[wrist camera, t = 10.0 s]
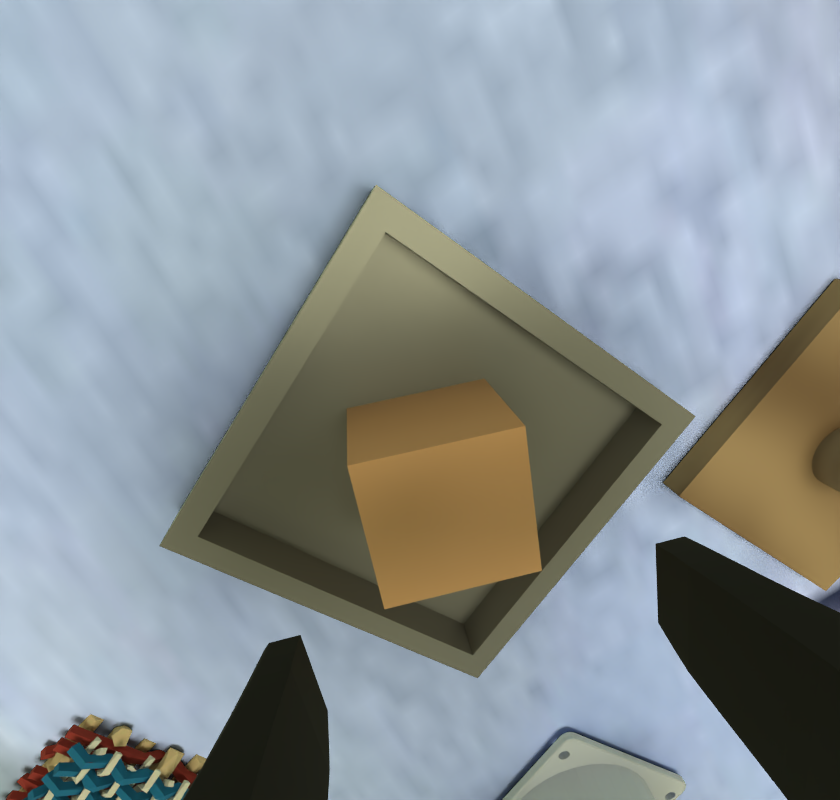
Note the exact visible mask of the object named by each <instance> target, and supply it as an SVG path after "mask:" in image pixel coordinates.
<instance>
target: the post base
mask: <svg viewBox="0 0 840 800" xmlns="http://www.w3.org/2000/svg"><path fill="white" fill-rule="evenodd" d="M663 483H664V484H665V485H666V486H667V487H669V488H670V489H671V490H672V491H673V492H675V493H676V494H677V495H678V496H680V497H681V498H683V499H684V500H686V501H687V502H689V503H690V504H692V505H693V506H695V507H697V508H698V509H700V510H701V511H703V512H704V513H706V514H707V515H709V516H711V517H712V518H714V519H715V520H717V521H718V522H720V523H721V524H723V525H724V526H726V527H728V528H729V529H731V530H732V531H734V532H735V533H737V534H738V535H740V536H742V537H743V538H745V539H746V540H748V541H749V542H751V543H752V544H754V545H755V546H757V547H759V548H760V549H762V550H763V551H765V552H766V553H768V554H769V555H771V556H772V557H774V558H776V559H777V560H779V561H780V562H782V563H783V564H785V565H786V566H788V567H790V568H791V569H793V570H794V571H796V572H797V573H799V574H800V575H802V576H803V577H805V578H807V579H808V580H810V581H811V582H813V583H814V584H816V585H817V586H819V587H821V588H822V589H824V590H825V591H826V590H827V589H828V588H829V587H830V586H831V585H832V584H833V583H834V582H835V581H836V580H837V579H838V578H839V577H840V279H835V280H834V281H833V282H832V283H831V284H830V286H829V287H828V288H827V289H826V290H825V291H824V293H823V294H822V295H821V296H820V297H819V299H818V300H817V301H816V302H815V303H814V304H813V306H812V307H811V308H810V309H809V310H808V312H807V313H806V314H805V315H804V316H803V317H802V319H801V320H800V321H799V322H798V323H797V325H796V326H795V327H794V328H793V329H792V331H791V332H790V333H789V334H788V335H787V336H786V338H785V339H784V340H783V341H782V342H781V344H780V345H779V346H778V347H777V348H776V349H775V351H774V352H773V353H772V354H771V355H770V357H769V358H768V359H767V360H766V361H765V362H764V364H763V365H762V366H761V367H760V368H759V370H758V371H757V372H756V373H755V374H754V376H753V377H752V378H751V379H750V380H749V381H748V383H747V384H746V385H745V386H744V387H743V389H742V390H741V391H740V392H739V393H738V394H737V396H736V397H735V398H734V399H733V400H732V402H731V403H730V404H729V405H728V406H727V407H726V409H725V410H724V411H723V412H722V413H721V415H720V416H719V417H718V418H717V419H716V421H715V422H714V423H713V424H712V425H711V426H710V428H709V429H708V430H707V431H706V432H705V434H704V435H703V436H702V437H701V438H700V439H699V441H698V442H697V443H696V444H695V445H694V447H693V448H692V449H691V450H690V451H689V452H688V454H687V455H686V456H685V457H684V458H683V460H682V461H681V462H680V463H679V464H678V466H677V467H676V468H675V469H674V470H673V471H672V473H671V474H670V475H669V476H668V477H667V479H666V480H665V481H664V482H663Z"/></svg>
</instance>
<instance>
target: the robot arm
mask: <svg viewBox="0 0 840 800" xmlns="http://www.w3.org/2000/svg"><path fill="white" fill-rule="evenodd" d="M656 569H657V599H658V623H659V625H660V626H661V628H662V630H663V631H664V633H665V635H666V636H667V638H668V640H669V641H670V643H671V645H672V646H673V648H674V650H675V651H676V653H677V654H678V656H679V658H680V659H681V661H682V662H683V664H684V665H685V667H686V669H687V670H688V672H689V673H690V674H691V676H692V677H693V678H694V680H695V681H696V682H697V684H698V685H699V686H700V688H701V689H702V690H703V691H704V693H705V694H706V695H707V697H708V698H709V699H710V701H711V702H712V703H713V704H714V706H715V707H716V708H717V710H718V711H719V712H720V713H721V715H722V716H723V717H724V719H725V720H726V721H727V722H728V724H729V725H730V726H731V728H732V729H733V730H734V731H735V733H736V734H737V735H738V736H739V738H740V739H741V740H742V742H743V743H744V744H745V745H746V747H747V748H748V749H749V751H750V752H751V753H752V754H753V756H754V757H755V758H756V759H757V761H758V762H759V763H760V765H761V766H762V767H763V768H764V770H765V771H766V772H767V774H768V775H769V776H770V777H771V779H772V780H773V781H774V782H775V784H776V785H777V786H778V788H779V789H780V790H781V792H782V793H783V794H784V796H785V797H786V798H787V800H840V613H839V612H837V611H835V610H833V609H831V608H829V607H826V606H824V605H822V604H820V603H818V602H816V601H814V600H811V599H809V598H807V597H805V596H803V595H801V594H799V593H797V592H795V591H793V590H791V589H789V588H787V587H785V586H783V585H780V584H778V583H776V582H774V581H772V580H770V579H768V578H766V577H764V576H762V575H760V574H758V573H756V572H755V571H753V570H751V569H749V568H747V567H745V566H743V565H741V564H739V563H737V562H735V561H733V560H731V559H729V558H727V557H725V556H723V555H721V554H719V553H717V552H715V551H713V550H711V549H709V548H707V547H705V546H703V545H701V544H699V543H697V542H695V541H693V540H691V539H689V538H687V537H681V538H677V539H673V540H669V541H665V542H661V543H657V544H656ZM328 787H329V734H328V711H327V708H326V705H325V702H324V699H323V697H322V694H321V691H320V688H319V685H318V683H317V680H316V677H315V674H314V672H313V669H312V666H311V663H310V660H309V658H308V655H307V652H306V649H305V647H304V644H303V641H302V638H301V635H299V636H295V637H291V638H287V639H283V640H279V641H275V642H271V643H269V644H268V645H267V647H266V648H265V650H264V652H263V654H262V656H261V658H260V660H259V662H258V664H257V666H256V668H255V670H254V672H253V673H252V675H251V677H250V679H249V681H248V683H247V685H246V687H245V689H244V691H243V693H242V695H241V697H240V699H239V701H238V703H237V704H236V706H235V708H234V710H233V712H232V714H231V716H230V718H229V720H228V721H227V723H226V725H225V727H224V729H223V730H222V732H221V734H220V736H219V738H218V739H217V741H216V743H215V745H214V747H213V748H212V750H211V752H210V754H209V756H208V758H207V759H206V761H205V763H204V765H203V766H202V768H201V770H200V771H199V773H198V775H197V776H196V778H195V780H194V781H193V783H192V785H191V786H190V788H189V790H188V791H187V793H186V795H185V796H184V798H183V800H328ZM685 788H686V784H685V782H684V780H683V778H682V777H681V776H680V775H678V774H675V773H673V772H670V771H668V770H665V769H663V768H660V767H658V766H655V765H653V764H650V763H648V762H645V761H643V760H641V759H638V758H636V757H633V756H631V755H628V754H626V753H623V752H621V751H618V750H616V749H613V748H611V747H608V746H606V745H603V744H601V743H598V742H596V741H594V740H591V739H589V738H586V737H584V736H581V735H579V734H576V733H573V732H566V733H564V734H562V735H561V736H560V737H559V738H558V739H557V740H556V741H555V742H554V743H553V745H552V746H551V747H550V748H549V749H548V750H547V751H546V752H545V753H544V754H543V755H542V757H541V758H540V759H539V760H538V761H537V762H536V763H535V764H534V765H533V766H532V768H531V769H530V770H529V771H528V772H527V773H526V774H525V775H524V776H523V777H522V779H521V780H520V781H519V782H518V783H517V784H516V785H515V786H514V787H513V788H512V790H511V791H510V792H509V793H508V794H507V795H506V796H505V797H504V798H503V799H502V800H675V799H676V798H677V797H678V796H679V795H680V794H681V793H682V792H683V791H684V790H685Z"/></svg>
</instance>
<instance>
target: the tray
mask: <svg viewBox="0 0 840 800" xmlns="http://www.w3.org/2000/svg"><path fill="white" fill-rule="evenodd" d="M480 379H485V380H486V381H487V382H488V383H489V385H490V386H491V387H492V388H493V389H494V390H495V391H496V393H497V394H498V395H499V396H500V397H501V398H502V400H503V401H504V402H505V403H506V404H507V405H508V406H509V408H510V409H511V410H512V411H513V412H514V413H515V415H516V416H517V417H518V418H519V419H520V420H521V421H522V423H523V424H524V425H525V427H526V436H527V445H528V453H529V462H530V471H531V480H532V488H533V497H534V506H535V515H536V524H537V532H538V541H539V550H540V559H541V567H542V571H539V572H534V573H530V574H526V575H522V576H518V577H514V578H510V579H506V580H502V581H498V582H494V583H490V584H486V585H482V586H477V587H473V588H469V589H465V590H461V591H457V592H453V593H449V594H445V595H441V596H437V597H433V598H429V599H424V600H420V601H416V602H412V603H408V604H404V605H400V606H396V607H392V608H388V609H384V606H383V602H382V598H381V594H380V590H379V587H378V583H377V579H376V575H375V571H374V567H373V563H372V560H371V556H370V552H369V548H368V544H367V540H366V536H365V533H364V529H363V525H362V521H361V517H360V513H359V509H358V506H357V502H356V498H355V494H354V490H353V486H352V482H351V479H350V475H349V471H348V467H347V408H351V407H356V406H360V405H365V404H370V403H374V402H379V401H383V400H388V399H393V398H397V397H402V396H406V395H411V394H416V393H420V392H425V391H429V390H434V389H439V388H443V387H448V386H452V385H457V384H462V383H466V382H471V381H476V380H480ZM694 418H695V416H694V415H693V414H692V413H690V412H689V411H687V410H686V409H685V408H683V407H682V406H681V405H679V404H678V403H676V402H675V401H674V400H672V399H671V398H670V397H668V396H667V395H665V394H664V393H663V392H661V391H660V390H658V389H657V388H656V387H654V386H653V385H652V384H650V383H649V382H647V381H646V380H645V379H643V378H642V377H641V376H639V375H638V374H636V373H635V372H634V371H632V370H631V369H629V368H628V367H627V366H625V365H624V364H623V363H621V362H620V361H618V360H617V359H616V358H614V357H613V356H612V355H610V354H609V353H607V352H606V351H605V350H603V349H602V348H600V347H599V346H598V345H596V344H595V343H594V342H592V341H591V340H589V339H588V338H587V337H585V336H584V335H583V334H581V333H580V332H578V331H577V330H576V329H574V328H573V327H572V326H570V325H569V324H567V323H566V322H565V321H563V320H562V319H560V318H559V317H558V316H556V315H555V314H554V313H552V312H551V311H549V310H548V309H547V308H545V307H544V306H543V305H541V304H540V303H538V302H537V301H536V300H534V299H533V298H531V297H530V296H529V295H527V294H526V293H525V292H523V291H522V290H520V289H519V288H518V287H516V286H515V285H514V284H512V283H511V282H509V281H508V280H507V279H505V278H504V277H503V276H501V275H500V274H498V273H497V272H496V271H494V270H493V269H491V268H490V267H489V266H487V265H486V264H485V263H483V262H482V261H480V260H479V259H478V258H476V257H475V256H474V255H472V254H471V253H469V252H468V251H467V250H465V249H464V248H462V247H461V246H460V245H458V244H457V243H456V242H454V241H453V240H451V239H450V238H449V237H447V236H446V235H445V234H443V233H442V232H440V231H439V230H438V229H436V228H435V227H433V226H432V225H431V224H429V223H428V222H427V221H425V220H424V219H422V218H421V217H420V216H418V215H417V214H416V213H414V212H413V211H411V210H410V209H409V208H407V207H406V206H405V205H403V204H402V203H400V202H399V201H398V200H396V199H395V198H393V197H392V196H391V195H389V194H388V193H387V192H385V191H384V190H382V189H381V188H380V187H378V186H377V185H376V186H375V187H374V188H373V189H372V190H371V192H370V194H369V195H368V197H367V199H366V200H365V202H364V204H363V205H362V207H361V209H360V210H359V212H358V214H357V215H356V217H355V219H354V220H353V222H352V224H351V225H350V227H349V229H348V230H347V232H346V234H345V235H344V237H343V239H342V240H341V242H340V244H339V245H338V247H337V249H336V250H335V252H334V254H333V255H332V257H331V259H330V260H329V262H328V264H327V265H326V267H325V269H324V270H323V272H322V274H321V275H320V277H319V279H318V280H317V282H316V284H315V285H314V287H313V289H312V290H311V292H310V294H309V295H308V297H307V299H306V300H305V302H304V304H303V305H302V307H301V309H300V310H299V312H298V314H297V315H296V317H295V319H294V320H293V322H292V324H291V325H290V327H289V329H288V330H287V332H286V334H285V335H284V337H283V339H282V340H281V342H280V344H279V345H278V347H277V349H276V350H275V352H274V354H273V355H272V357H271V359H270V360H269V362H268V364H267V365H266V367H265V369H264V370H263V372H262V374H261V375H260V377H259V379H258V380H257V382H256V384H255V385H254V387H253V389H252V390H251V392H250V394H249V395H248V397H247V399H246V400H245V402H244V404H243V405H242V407H241V409H240V410H239V412H238V414H237V415H236V417H235V419H234V420H233V422H232V424H231V425H230V427H229V429H228V430H227V432H226V434H225V435H224V437H223V439H222V440H221V442H220V444H219V445H218V447H217V449H216V450H215V452H214V454H213V455H212V457H211V459H210V460H209V462H208V464H207V465H206V467H205V469H204V470H203V472H202V474H201V475H200V477H199V479H198V480H197V482H196V484H195V485H194V487H193V489H192V490H191V492H190V494H189V495H188V497H187V499H186V500H185V502H184V504H183V505H182V507H181V509H180V510H179V512H178V514H177V516H176V517H175V519H174V521H173V523H172V525H171V526H170V528H169V530H168V532H167V533H166V535H165V537H164V539H163V541H162V542H161V544H160V546H161V547H163V548H166V549H168V550H171V551H173V552H175V553H178V554H180V555H183V556H185V557H188V558H190V559H192V560H195V561H197V562H200V563H202V564H204V565H207V566H209V567H212V568H214V569H216V570H219V571H221V572H224V573H226V574H228V575H231V576H233V577H236V578H238V579H240V580H243V581H245V582H248V583H250V584H252V585H255V586H257V587H260V588H262V589H264V590H267V591H269V592H272V593H274V594H277V595H279V596H281V597H284V598H286V599H289V600H291V601H293V602H296V603H298V604H301V605H303V606H305V607H308V608H310V609H313V610H315V611H317V612H320V613H322V614H325V615H327V616H329V617H332V618H334V619H337V620H339V621H341V622H344V623H346V624H349V625H351V626H353V627H356V628H358V629H361V630H363V631H366V632H368V633H370V634H373V635H375V636H378V637H380V638H382V639H385V640H387V641H390V642H392V643H394V644H397V645H399V646H402V647H404V648H406V649H409V650H411V651H414V652H416V653H418V654H421V655H423V656H426V657H428V658H430V659H433V660H435V661H438V662H440V663H442V664H445V665H447V666H450V667H452V668H455V669H457V670H459V671H462V672H464V673H467V674H469V675H471V676H474V677H476V678H478V677H479V676H480V675H481V673H482V672H483V671H484V670H485V669H486V667H487V666H488V665H489V664H490V663H491V661H492V660H493V659H494V658H495V657H496V655H497V654H498V653H499V652H500V651H501V649H502V648H503V647H504V646H505V645H506V643H507V642H508V641H509V640H510V639H511V637H512V636H513V635H514V634H515V633H516V631H517V630H518V629H519V628H520V627H521V625H522V624H523V623H524V622H525V621H526V619H527V618H528V617H529V616H530V615H531V613H532V612H533V611H534V610H535V609H536V607H537V606H538V605H539V604H540V603H541V601H542V600H543V599H544V598H545V597H546V595H547V594H548V593H549V592H550V591H551V589H552V588H553V587H554V586H555V585H556V583H557V582H558V581H559V580H560V579H561V577H562V576H563V575H564V574H565V573H566V571H567V570H568V569H569V568H570V567H571V565H572V564H573V563H574V562H575V561H576V559H577V558H578V557H579V556H580V555H581V553H582V552H583V551H584V550H585V548H586V547H587V546H588V545H589V544H590V542H591V541H592V540H593V539H594V538H595V536H596V535H597V534H598V533H599V532H600V530H601V529H602V528H603V527H604V526H605V524H606V523H607V522H608V521H609V520H610V518H611V517H612V516H613V515H614V514H615V512H616V511H617V510H618V509H619V508H620V506H621V505H622V504H623V503H624V502H625V500H626V499H627V498H628V497H629V496H630V494H631V493H632V492H633V491H634V490H635V488H636V487H637V486H638V485H639V484H640V482H641V481H642V480H643V479H644V478H645V476H646V475H647V474H648V473H649V472H650V470H651V469H652V468H653V467H654V466H655V464H656V463H657V462H658V461H659V460H660V458H661V457H662V456H663V455H664V454H665V452H666V451H667V450H668V449H669V448H670V446H671V445H672V444H673V443H674V442H675V440H676V439H677V438H678V437H679V436H680V434H681V433H682V432H683V431H684V430H685V428H686V427H687V426H688V425H689V424H690V422H691V421H692V420H693V419H694Z"/></svg>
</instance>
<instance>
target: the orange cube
mask: <svg viewBox="0 0 840 800" xmlns="http://www.w3.org/2000/svg"><path fill="white" fill-rule="evenodd" d="M347 467H348V471H349V475H350V479H351V482H352V486H353V490H354V494H355V498H356V502H357V506H358V509H359V513H360V517H361V521H362V525H363V529H364V533H365V536H366V540H367V544H368V548H369V552H370V556H371V560H372V563H373V567H374V571H375V575H376V579H377V583H378V587H379V590H380V594H381V598H382V602H383V606H384V609H388V608H392V607H396V606H400V605H404V604H408V603H412V602H416V601H420V600H424V599H429V598H433V597H437V596H441V595H445V594H449V593H453V592H457V591H461V590H465V589H469V588H473V587H477V586H482V585H486V584H490V583H494V582H498V581H502V580H506V579H510V578H514V577H518V576H522V575H526V574H530V573H534V572H539V571H542V567H541V559H540V550H539V541H538V532H537V524H536V515H535V506H534V497H533V488H532V480H531V471H530V462H529V453H528V445H527V436H526V427H525V425H524V424H523V423H522V421H521V420H520V419H519V418H518V417H517V416H516V415H515V413H514V412H513V411H512V410H511V409H510V408H509V406H508V405H507V404H506V403H505V402H504V401H503V400H502V398H501V397H500V396H499V395H498V394H497V393H496V391H495V390H494V389H493V388H492V387H491V386H490V385H489V383H488V382H487V381H486V380H485V379H480V380H476V381H471V382H466V383H462V384H457V385H452V386H448V387H443V388H439V389H434V390H429V391H425V392H420V393H416V394H411V395H406V396H402V397H397V398H393V399H388V400H383V401H379V402H374V403H370V404H365V405H360V406H356V407H351V408H347Z"/></svg>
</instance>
